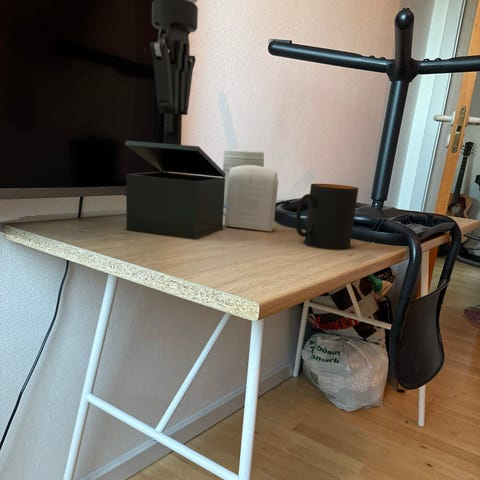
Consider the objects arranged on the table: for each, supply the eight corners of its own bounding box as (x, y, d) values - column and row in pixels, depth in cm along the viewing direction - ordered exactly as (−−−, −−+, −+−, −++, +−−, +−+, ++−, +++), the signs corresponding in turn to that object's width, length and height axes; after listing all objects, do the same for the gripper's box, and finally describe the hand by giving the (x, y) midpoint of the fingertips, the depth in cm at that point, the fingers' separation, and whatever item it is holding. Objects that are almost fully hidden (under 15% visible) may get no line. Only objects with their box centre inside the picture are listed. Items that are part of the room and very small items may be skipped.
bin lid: (197, 151, 80) (198, 146, 80) (125, 145, 83) (125, 140, 83) (225, 177, 93) (225, 173, 93) (161, 171, 97) (162, 167, 97)
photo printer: (275, 229, 100) (281, 167, 96) (271, 232, 96) (277, 167, 92) (227, 224, 103) (231, 163, 98) (221, 227, 99) (225, 163, 94)
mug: (279, 242, 88) (284, 182, 84) (328, 239, 94) (335, 183, 91) (308, 251, 81) (316, 188, 78) (359, 247, 88) (368, 188, 84)
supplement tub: (246, 211, 124) (250, 150, 119) (267, 217, 117) (273, 152, 112) (213, 211, 119) (216, 148, 114) (233, 218, 112) (237, 150, 107)
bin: (194, 239, 85) (197, 181, 81) (126, 229, 89) (125, 174, 85) (222, 228, 97) (225, 177, 94) (161, 220, 101) (162, 171, 97)
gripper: (178, -11, 73) (175, 154, 81) (211, 12, 85) (205, 154, 93) (134, -10, 75) (135, 151, 83) (172, 12, 87) (169, 151, 95)
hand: (172, 153), depth 88 cm, fingers closed
